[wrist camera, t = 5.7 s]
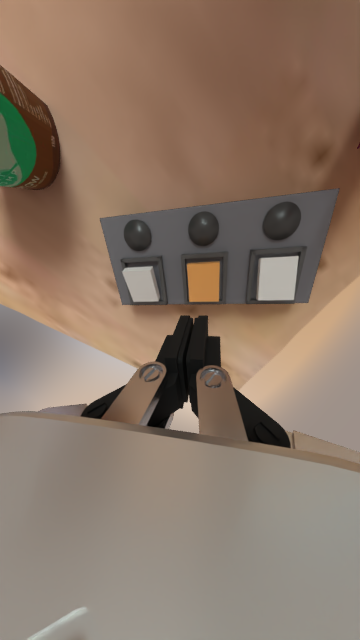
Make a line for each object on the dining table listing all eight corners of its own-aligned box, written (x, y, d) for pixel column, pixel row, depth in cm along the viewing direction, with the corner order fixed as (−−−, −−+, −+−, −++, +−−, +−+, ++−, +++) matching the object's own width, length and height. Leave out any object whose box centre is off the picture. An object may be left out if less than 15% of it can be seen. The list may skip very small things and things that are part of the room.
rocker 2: (258, 259, 17) (260, 258, 16) (294, 257, 16) (298, 256, 16) (256, 299, 18) (258, 300, 17) (289, 298, 17) (293, 299, 16)
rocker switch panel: (114, 219, 21) (96, 218, 18) (320, 194, 16) (344, 186, 13) (131, 296, 26) (120, 306, 22) (296, 293, 21) (310, 305, 18)
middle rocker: (188, 263, 18) (186, 264, 17) (219, 261, 17) (219, 262, 17) (190, 298, 20) (189, 301, 19) (218, 298, 19) (218, 301, 18)
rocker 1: (125, 267, 19) (122, 271, 18) (152, 266, 18) (150, 270, 18) (136, 297, 22) (133, 301, 21) (160, 296, 21) (158, 301, 20)
